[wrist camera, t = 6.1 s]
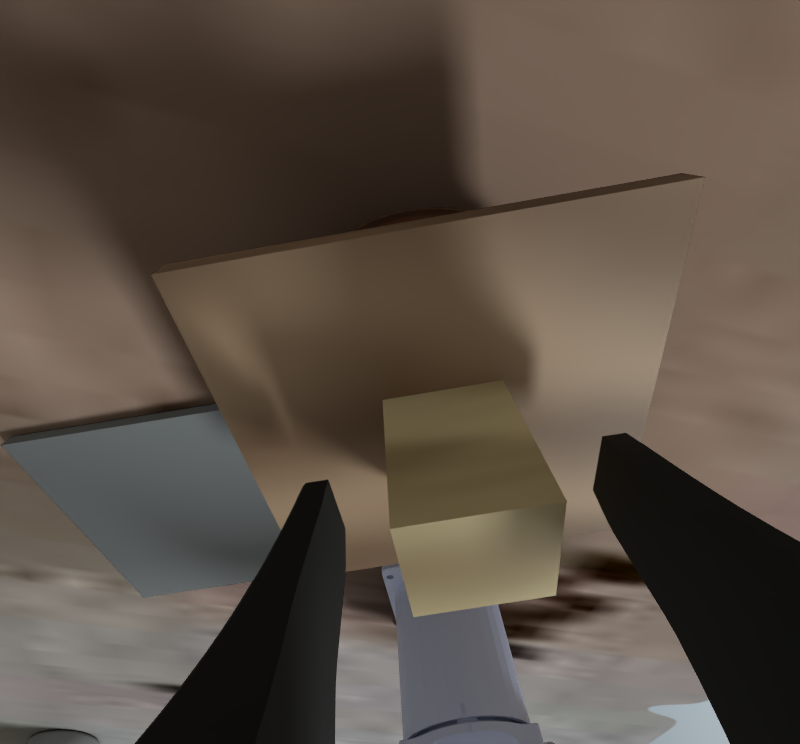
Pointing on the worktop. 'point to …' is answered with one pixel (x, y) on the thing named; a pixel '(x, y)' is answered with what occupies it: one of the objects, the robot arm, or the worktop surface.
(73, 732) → the travel mug
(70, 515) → the mat
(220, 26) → the worktop surface
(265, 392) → the lid
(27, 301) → the worktop surface
